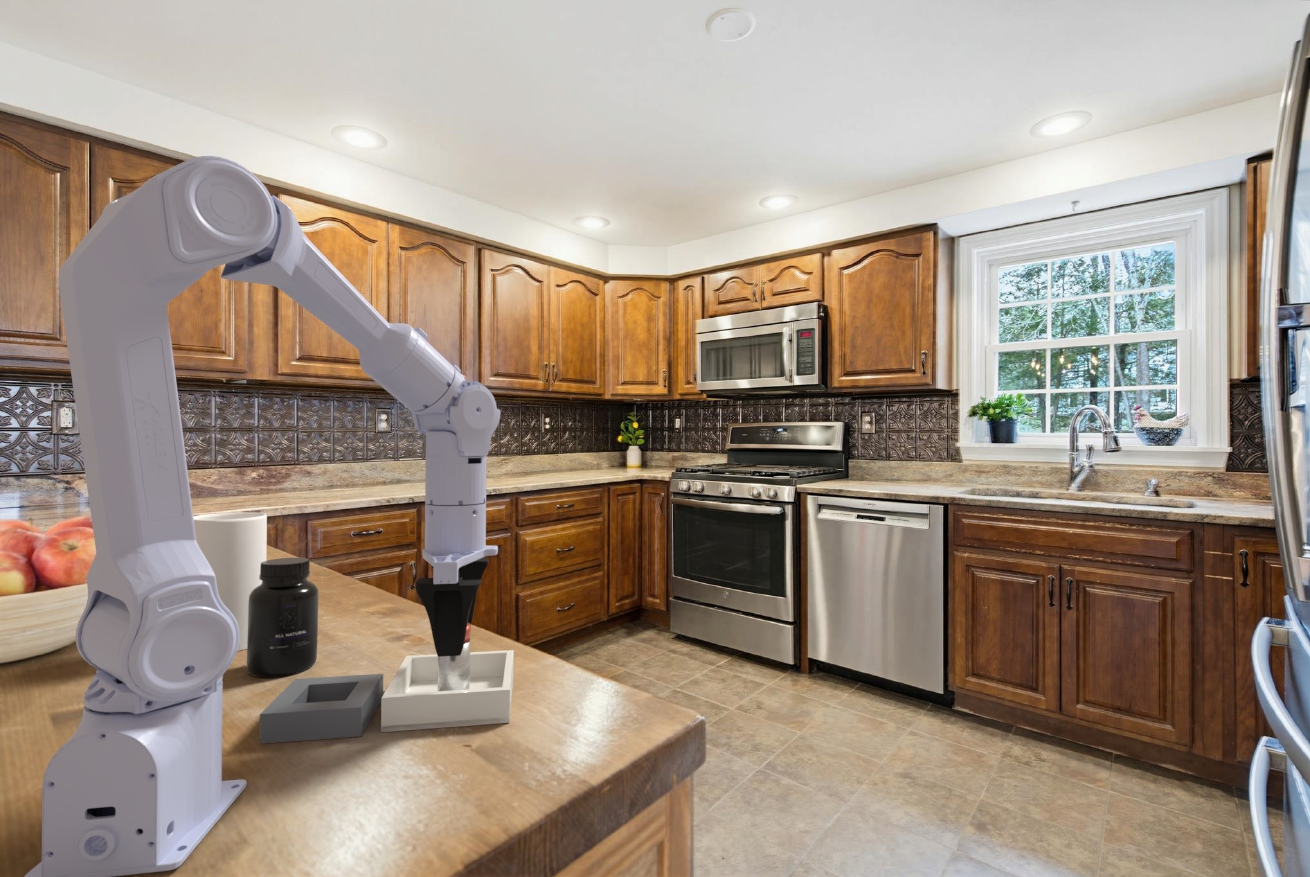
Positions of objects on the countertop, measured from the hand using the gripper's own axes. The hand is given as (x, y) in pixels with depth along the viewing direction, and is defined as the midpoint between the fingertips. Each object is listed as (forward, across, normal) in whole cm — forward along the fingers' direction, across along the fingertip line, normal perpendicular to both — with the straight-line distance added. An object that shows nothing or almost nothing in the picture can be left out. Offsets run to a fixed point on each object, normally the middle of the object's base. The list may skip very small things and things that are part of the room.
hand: (454, 641), depth 62 cm
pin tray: (+6, 0, 0) cm, 6 cm away
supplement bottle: (+6, +13, +20) cm, 25 cm away
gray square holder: (+6, -2, +11) cm, 13 cm away
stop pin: (+5, 0, 0) cm, 5 cm away
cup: (+6, +23, +30) cm, 38 cm away
